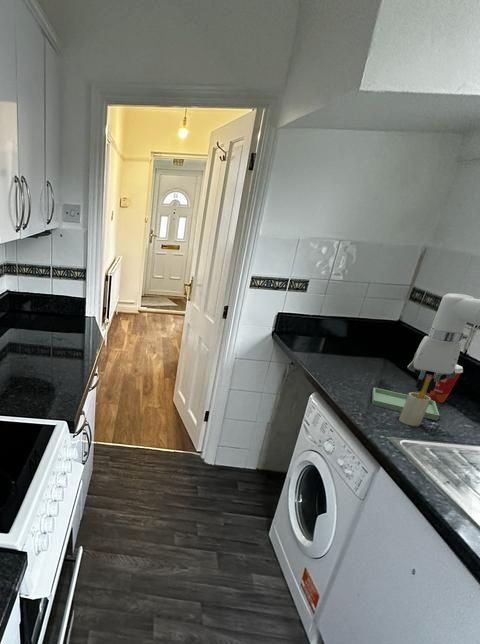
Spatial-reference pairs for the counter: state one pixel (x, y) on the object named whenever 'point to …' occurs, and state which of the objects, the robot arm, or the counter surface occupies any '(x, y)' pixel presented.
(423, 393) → the pencil
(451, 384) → the paper cup
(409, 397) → the pen cup
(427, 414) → the tray
